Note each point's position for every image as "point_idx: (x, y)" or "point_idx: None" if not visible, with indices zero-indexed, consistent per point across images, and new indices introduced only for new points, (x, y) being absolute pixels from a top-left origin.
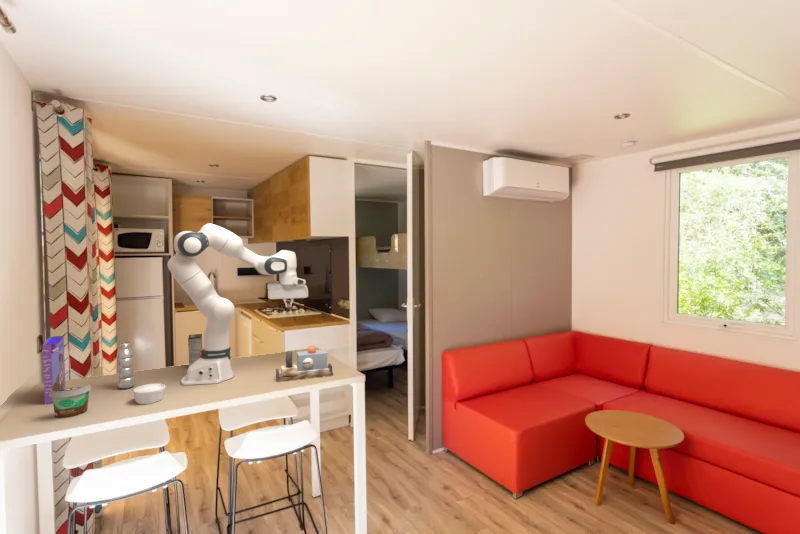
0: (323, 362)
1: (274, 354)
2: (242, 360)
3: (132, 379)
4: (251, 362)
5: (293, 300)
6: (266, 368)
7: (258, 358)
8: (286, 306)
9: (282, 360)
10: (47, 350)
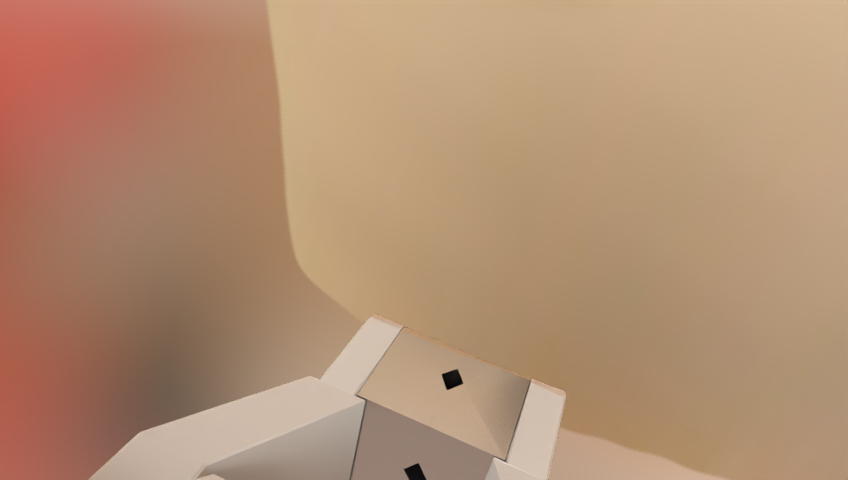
0: None
1: None
2: (833, 439)
3: None
4: (810, 349)
5: (142, 441)
6: (818, 105)
7: (703, 402)
8: (541, 397)
9: (583, 242)
10: None
